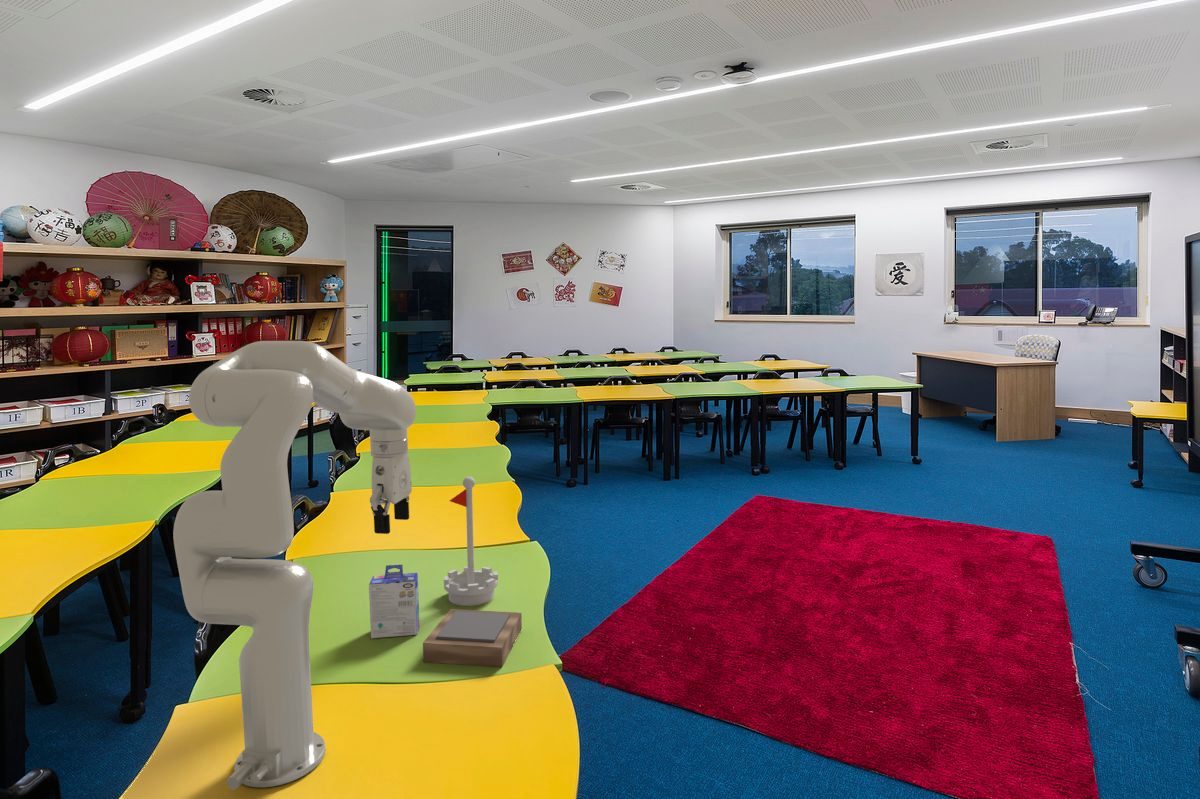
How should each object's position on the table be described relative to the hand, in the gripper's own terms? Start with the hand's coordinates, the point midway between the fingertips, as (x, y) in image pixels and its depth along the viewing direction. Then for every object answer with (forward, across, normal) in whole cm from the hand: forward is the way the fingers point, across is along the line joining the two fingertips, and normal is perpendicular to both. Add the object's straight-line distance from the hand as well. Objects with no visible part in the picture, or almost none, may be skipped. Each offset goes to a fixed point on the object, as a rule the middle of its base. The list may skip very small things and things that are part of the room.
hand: (392, 526), depth 145 cm
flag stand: (+24, +20, -10) cm, 33 cm away
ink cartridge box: (+24, 0, 0) cm, 24 cm away
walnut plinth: (+24, -4, -19) cm, 31 cm away
